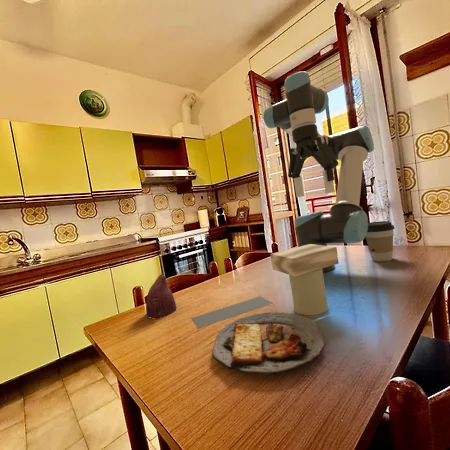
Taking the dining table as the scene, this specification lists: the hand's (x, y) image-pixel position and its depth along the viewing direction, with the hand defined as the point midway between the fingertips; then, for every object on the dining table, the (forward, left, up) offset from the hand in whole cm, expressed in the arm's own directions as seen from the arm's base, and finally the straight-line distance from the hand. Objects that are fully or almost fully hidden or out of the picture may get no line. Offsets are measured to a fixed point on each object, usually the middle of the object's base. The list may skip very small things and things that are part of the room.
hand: (314, 195), depth 82 cm
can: (+8, -14, -31) cm, 35 cm away
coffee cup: (-9, +37, -31) cm, 49 cm away
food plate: (+16, -33, -31) cm, 48 cm away
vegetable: (-23, -51, -31) cm, 64 cm away
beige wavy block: (+8, -14, -19) cm, 25 cm away
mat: (-6, -32, -31) cm, 45 cm away
